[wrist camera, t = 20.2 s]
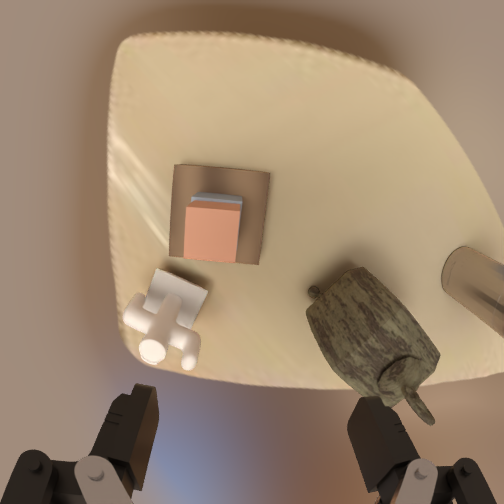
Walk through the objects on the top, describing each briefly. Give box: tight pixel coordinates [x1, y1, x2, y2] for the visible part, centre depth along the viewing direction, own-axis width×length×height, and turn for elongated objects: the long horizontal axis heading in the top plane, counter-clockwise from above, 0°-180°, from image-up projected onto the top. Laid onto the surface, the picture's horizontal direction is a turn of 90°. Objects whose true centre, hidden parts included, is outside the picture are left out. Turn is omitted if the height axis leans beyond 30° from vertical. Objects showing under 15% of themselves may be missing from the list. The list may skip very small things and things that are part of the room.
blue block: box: [191, 192, 242, 251], centre depth 31 cm, size 5×5×5 cm
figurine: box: [123, 268, 208, 370], centre depth 33 cm, size 7×9×15 cm
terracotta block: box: [184, 200, 240, 263], centre depth 26 cm, size 4×4×4 cm
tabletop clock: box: [306, 267, 440, 425], centre depth 30 cm, size 14×9×25 cm, turn 46°
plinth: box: [169, 164, 270, 265], centre depth 35 cm, size 11×11×4 cm
